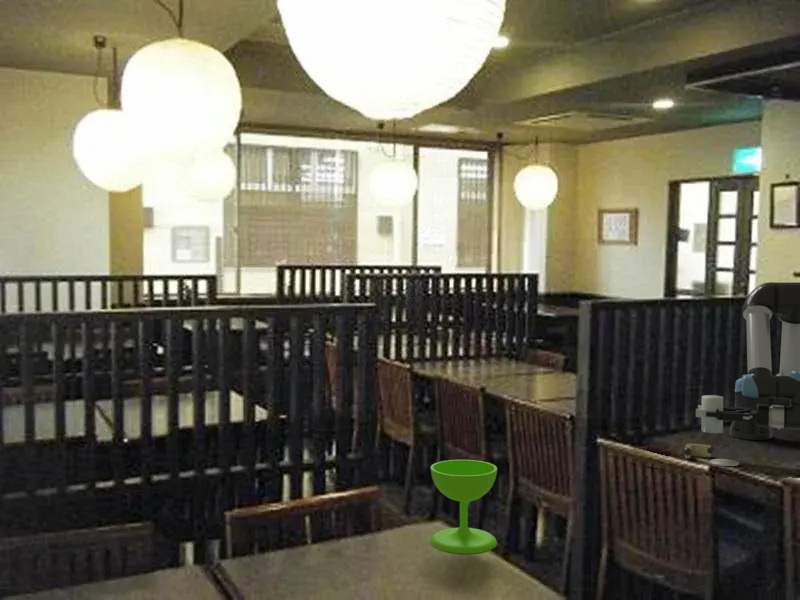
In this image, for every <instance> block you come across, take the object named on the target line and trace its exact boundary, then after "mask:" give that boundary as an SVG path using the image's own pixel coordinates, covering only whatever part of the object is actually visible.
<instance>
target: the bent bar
mask: <svg viewBox="0 0 800 600" xmlns="http://www.w3.org/2000/svg"><path fill="white" fill-rule="evenodd" d="M715 452H716V451H715V448H714V446H712V445H710V444H701V443H700V444H699V443H689V442H688V443H686V445H685V446H684V449H683V454H684V459H687V460H690V459H691V458H692V457H701V458H711V457H712V455H713V454H714V453H715Z"/></svg>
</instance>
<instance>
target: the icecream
mask: <svg viewBox="0 0 800 600" xmlns="http://www.w3.org/2000/svg"><path fill="white" fill-rule="evenodd" d="M636 448H639V449H643V450H647V451H650V452H653V453H657V454H661V455H665V456H670V457H671V456H672V452H671V450H669V449H668V450H667V449H664V450H663V449H661V448H660V447H658V446H657V445H655V444H653V443H651V444H650V443H649V444H648V445H644V446H637V447H636Z"/></svg>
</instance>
